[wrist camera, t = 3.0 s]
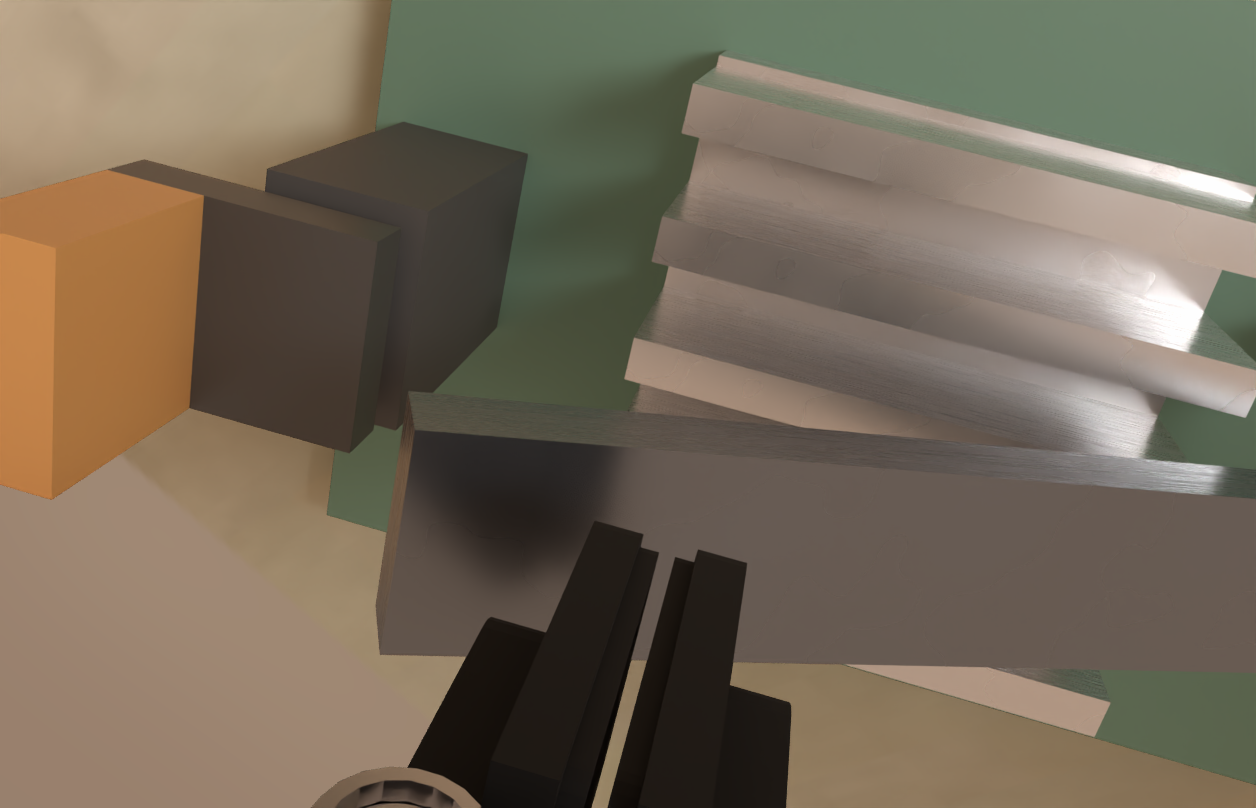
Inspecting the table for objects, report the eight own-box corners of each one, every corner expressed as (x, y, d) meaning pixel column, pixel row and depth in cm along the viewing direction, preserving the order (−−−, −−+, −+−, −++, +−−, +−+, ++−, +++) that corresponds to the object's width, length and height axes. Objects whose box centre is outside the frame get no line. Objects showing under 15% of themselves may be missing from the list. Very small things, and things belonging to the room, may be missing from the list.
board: (1648, 96, 21) (2053, 161, 14) (1279, 756, 28) (1431, 1034, 20) (441, -184, 23) (262, -251, 16) (351, 489, 30) (191, 656, 22)
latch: (402, 228, 18) (267, 305, 14) (373, 430, 19) (242, 556, 15) (144, 159, 18) (-63, 215, 14) (134, 363, 20) (-56, 468, 16)
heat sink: (1232, 173, 22) (1335, 229, 17) (1046, 605, 26) (1090, 745, 21) (727, 50, 23) (696, 70, 18) (622, 486, 26) (574, 595, 22)
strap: (1447, 465, 18) (1526, 508, 17) (1345, 645, 20) (1413, 699, 19) (410, 361, 13) (420, 412, 12) (371, 615, 15) (377, 685, 13)
